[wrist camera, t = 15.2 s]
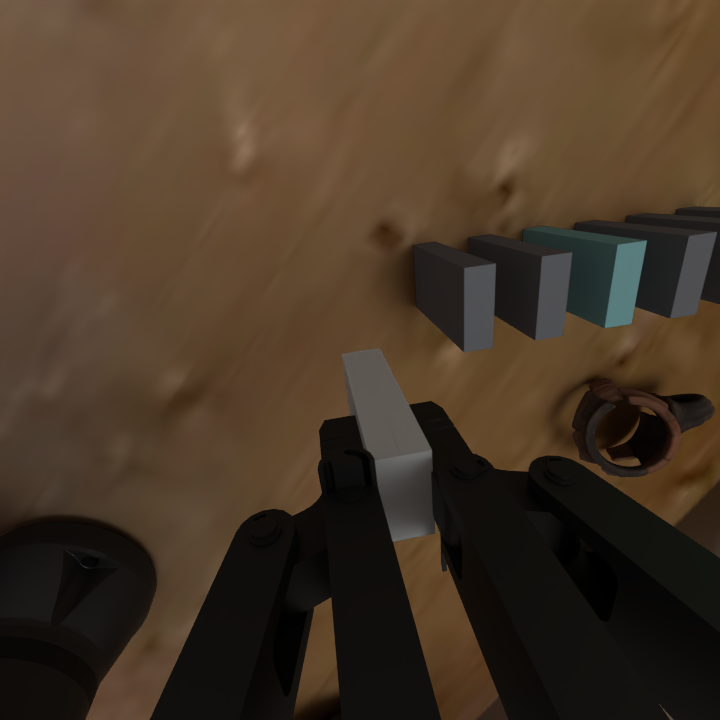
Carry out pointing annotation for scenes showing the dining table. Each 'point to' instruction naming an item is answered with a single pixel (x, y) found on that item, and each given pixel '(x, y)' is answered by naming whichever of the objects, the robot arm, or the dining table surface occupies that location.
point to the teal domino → (597, 272)
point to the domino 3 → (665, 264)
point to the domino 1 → (456, 294)
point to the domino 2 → (527, 283)
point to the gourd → (337, 717)
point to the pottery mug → (653, 434)
